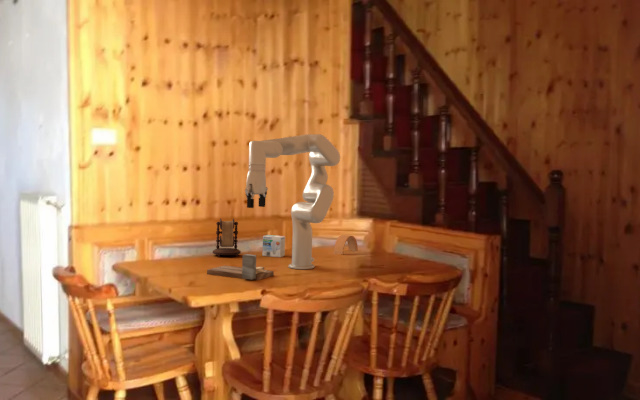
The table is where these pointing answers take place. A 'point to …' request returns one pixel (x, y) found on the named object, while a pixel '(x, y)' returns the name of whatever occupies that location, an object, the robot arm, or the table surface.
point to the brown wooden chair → (227, 238)
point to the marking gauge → (250, 267)
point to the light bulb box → (273, 246)
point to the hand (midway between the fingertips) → (256, 207)
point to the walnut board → (236, 272)
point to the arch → (341, 243)
